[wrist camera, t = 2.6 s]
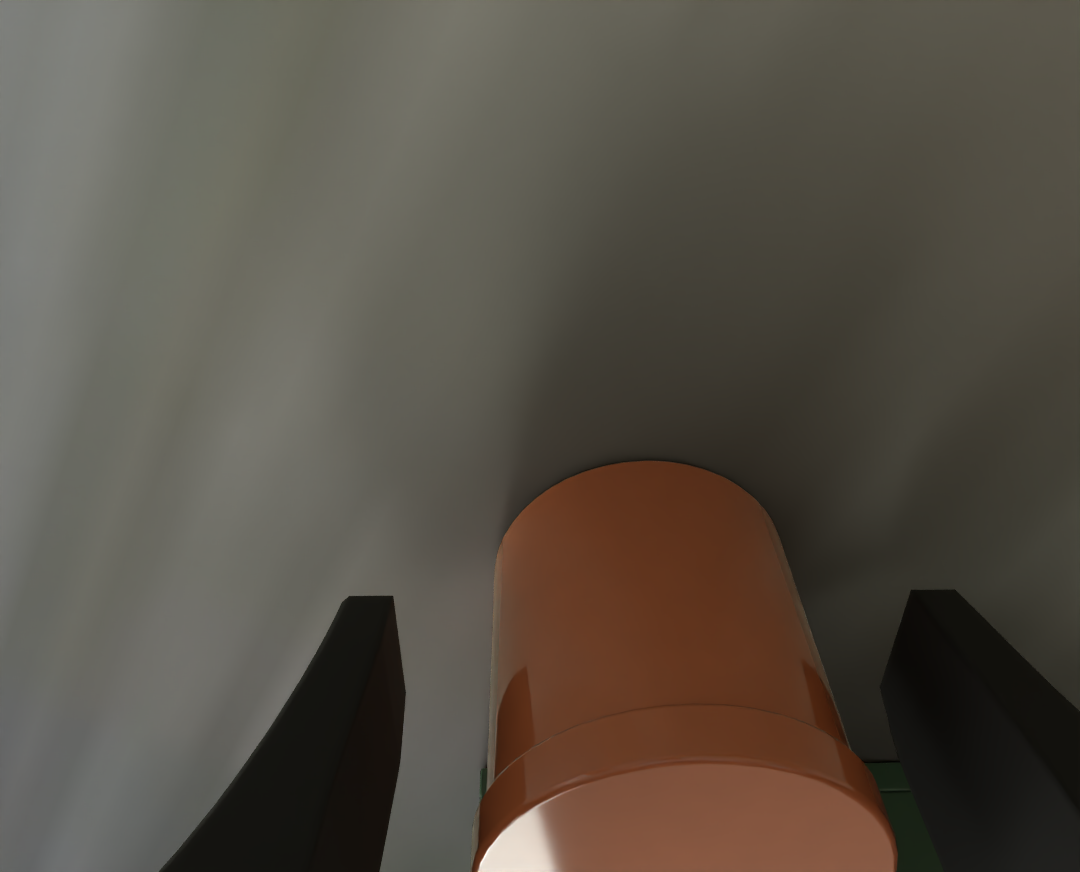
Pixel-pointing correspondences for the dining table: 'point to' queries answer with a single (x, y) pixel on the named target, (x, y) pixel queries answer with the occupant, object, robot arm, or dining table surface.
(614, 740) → the pot
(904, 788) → the box
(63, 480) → the dining table surface
